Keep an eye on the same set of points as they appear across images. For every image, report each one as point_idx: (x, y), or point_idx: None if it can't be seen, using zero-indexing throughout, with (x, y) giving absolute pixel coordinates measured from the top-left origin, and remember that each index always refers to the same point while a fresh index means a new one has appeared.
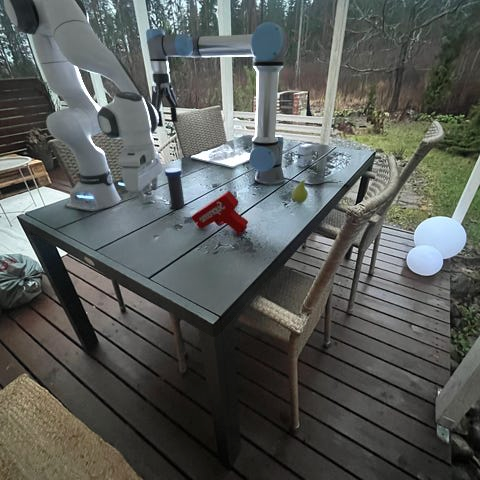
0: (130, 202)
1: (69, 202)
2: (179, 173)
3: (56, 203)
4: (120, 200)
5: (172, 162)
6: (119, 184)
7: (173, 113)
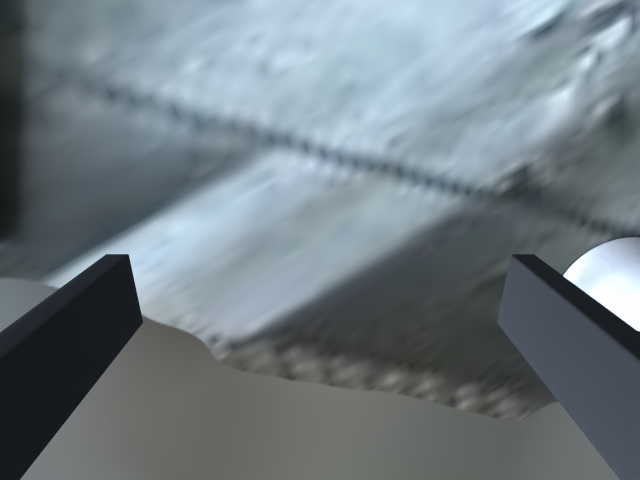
0: (612, 200)
1: None
2: None
3: None
4: (605, 243)
5: None
6: None
7: (64, 363)
